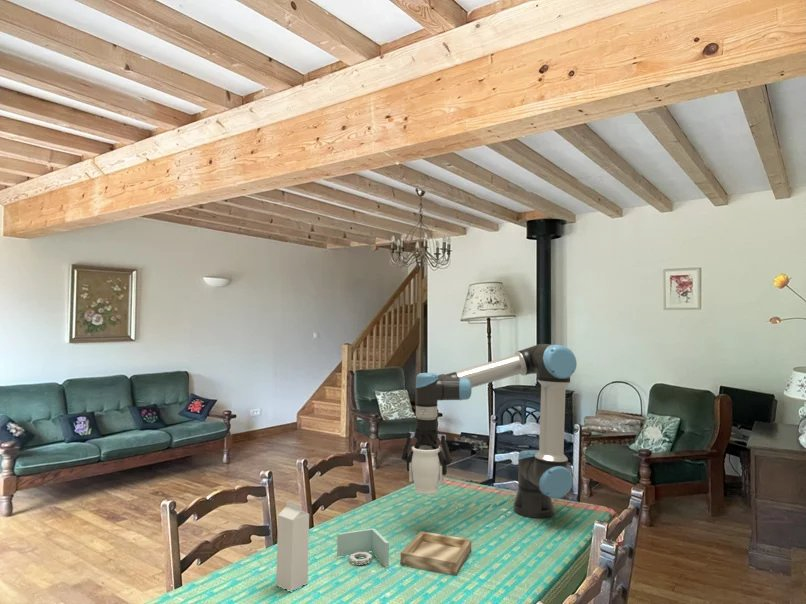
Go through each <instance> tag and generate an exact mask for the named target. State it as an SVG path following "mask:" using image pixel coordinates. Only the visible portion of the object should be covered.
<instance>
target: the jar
mask: <svg viewBox="0 0 806 604" xmlns="http://www.w3.org/2000/svg"><path fill="white" fill-rule="evenodd" d="M414 446H415V445H412V446H411V451H413V455H412V460H411V461H412V472H413V479H414V480H413V483H414V485H415V486H414V491H415V493H417V494H420V495H433V494H436V493H438V492H439V487H438V485H439V484H440V465H441V462H440V460H439V457H438V453H439V452H440V451H441V452H442V446H440V445H438V446H439V448H438V449H433V448H432V447H431V446H427V445H420V447H419V449H416V448H414Z"/></svg>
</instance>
